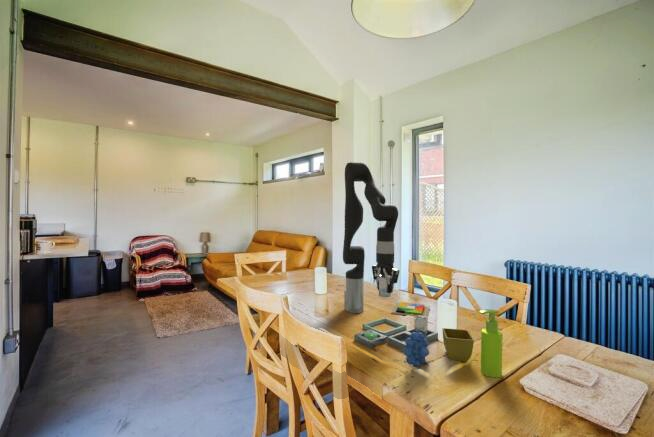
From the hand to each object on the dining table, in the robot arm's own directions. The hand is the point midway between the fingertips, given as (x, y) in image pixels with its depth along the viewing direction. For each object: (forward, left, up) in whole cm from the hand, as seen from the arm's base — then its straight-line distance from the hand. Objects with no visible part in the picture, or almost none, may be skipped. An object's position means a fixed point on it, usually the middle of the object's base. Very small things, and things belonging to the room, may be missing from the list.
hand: (384, 291), depth 130 cm
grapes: (+28, -14, -17) cm, 36 cm away
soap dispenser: (+43, +2, -17) cm, 46 cm away
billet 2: (+15, +5, -16) cm, 22 cm away
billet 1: (0, 0, -2) cm, 2 cm away
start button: (+5, -13, -17) cm, 22 cm away
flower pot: (+32, +2, -17) cm, 36 cm away
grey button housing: (+5, -13, -17) cm, 22 cm away
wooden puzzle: (-10, +30, -18) cm, 36 cm away
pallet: (+15, 0, -17) cm, 23 cm away
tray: (0, 0, -17) cm, 17 cm away
